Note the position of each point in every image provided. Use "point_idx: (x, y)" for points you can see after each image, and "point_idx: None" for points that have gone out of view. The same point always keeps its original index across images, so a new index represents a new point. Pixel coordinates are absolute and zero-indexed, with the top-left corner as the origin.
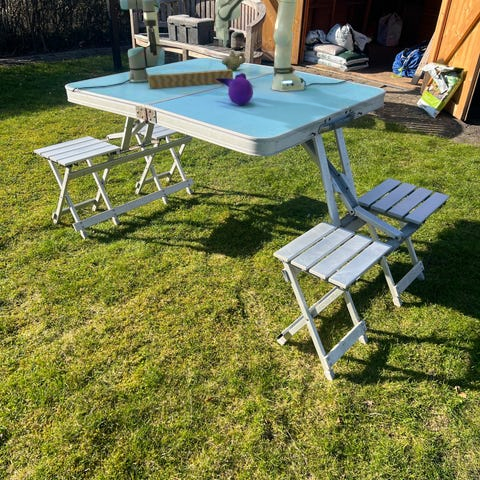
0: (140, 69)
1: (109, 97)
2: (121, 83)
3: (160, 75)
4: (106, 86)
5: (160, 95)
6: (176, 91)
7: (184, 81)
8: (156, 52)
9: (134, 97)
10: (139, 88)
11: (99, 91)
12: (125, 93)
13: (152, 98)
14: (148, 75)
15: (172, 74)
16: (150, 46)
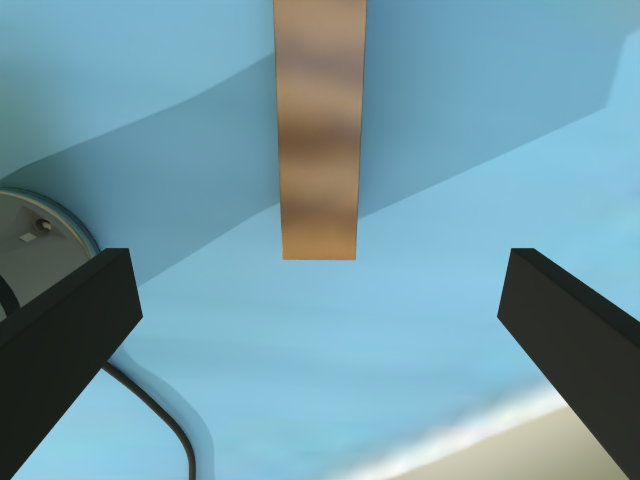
0: (8, 293)
1: (459, 437)
2: (116, 371)
3: (341, 148)
4: (188, 441)
5: (582, 185)
6: (524, 39)
7: None
8: (567, 281)
9: None
10: (292, 285)
11: (291, 468)
12: (403, 367)
13: (631, 245)
14: (295, 254)
15: (338, 2)
16: (66, 392)
